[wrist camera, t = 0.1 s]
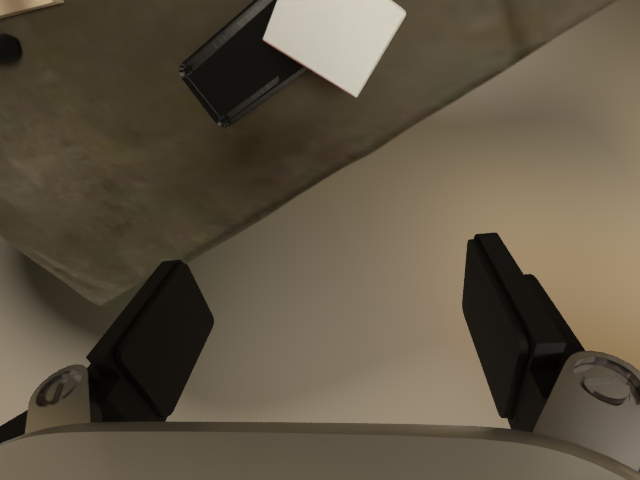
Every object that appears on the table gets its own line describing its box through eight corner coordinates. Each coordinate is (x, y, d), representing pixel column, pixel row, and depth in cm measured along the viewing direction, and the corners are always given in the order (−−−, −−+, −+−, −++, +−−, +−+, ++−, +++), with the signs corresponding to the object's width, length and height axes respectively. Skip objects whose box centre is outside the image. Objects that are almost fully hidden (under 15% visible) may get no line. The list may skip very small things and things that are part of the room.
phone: (174, 69, 36) (283, -26, 31) (179, 68, 37) (286, -25, 32) (222, 131, 40) (328, 56, 34) (225, 128, 41) (329, 55, 35)
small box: (290, 31, 34) (258, 39, 23) (319, -40, 30) (298, -69, 20) (357, 74, 35) (357, 100, 25) (392, 11, 32) (409, 9, 21)
